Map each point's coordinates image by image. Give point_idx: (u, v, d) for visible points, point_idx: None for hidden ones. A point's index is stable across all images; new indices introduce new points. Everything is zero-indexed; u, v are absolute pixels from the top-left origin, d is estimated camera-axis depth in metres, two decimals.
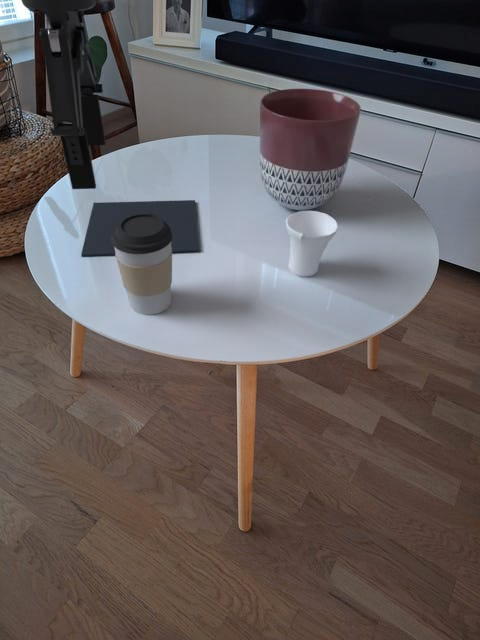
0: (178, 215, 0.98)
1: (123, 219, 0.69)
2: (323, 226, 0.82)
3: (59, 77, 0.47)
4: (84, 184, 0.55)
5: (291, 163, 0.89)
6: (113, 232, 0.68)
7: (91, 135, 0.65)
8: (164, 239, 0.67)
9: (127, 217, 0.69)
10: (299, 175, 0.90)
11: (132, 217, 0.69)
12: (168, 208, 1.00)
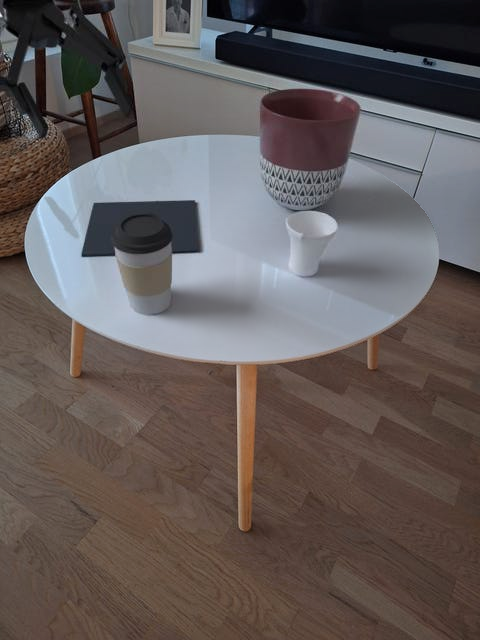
0: (178, 215, 0.98)
1: (123, 219, 0.69)
2: (323, 226, 0.82)
3: None
4: None
5: (291, 163, 0.89)
6: (113, 232, 0.68)
7: None
8: (164, 239, 0.67)
9: (127, 217, 0.69)
10: (299, 175, 0.90)
11: (132, 217, 0.69)
12: (168, 208, 1.00)
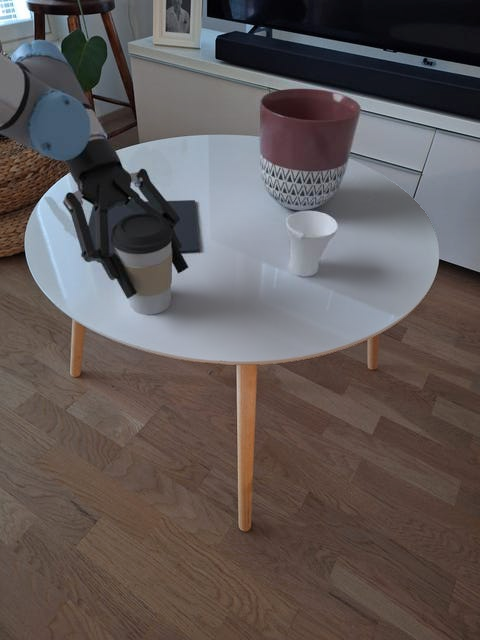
0: (178, 215, 0.98)
1: (123, 219, 0.69)
2: (323, 226, 0.82)
3: None
4: None
5: (291, 163, 0.89)
6: (113, 232, 0.68)
7: None
8: (164, 239, 0.67)
9: (127, 217, 0.69)
10: (299, 175, 0.90)
11: (132, 217, 0.69)
12: None
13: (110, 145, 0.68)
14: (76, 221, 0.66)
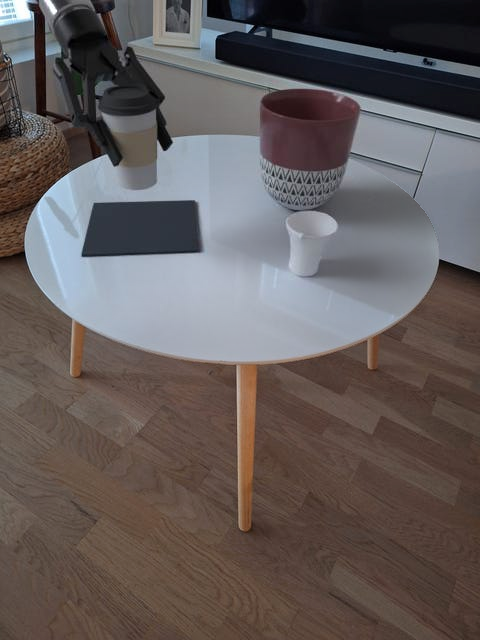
0: (178, 215, 0.98)
1: (110, 88, 0.72)
2: (323, 226, 0.82)
3: None
4: None
5: (291, 163, 0.89)
6: (100, 99, 0.71)
7: None
8: (148, 104, 0.70)
9: (114, 87, 0.72)
10: (299, 175, 0.90)
11: (118, 88, 0.73)
12: (168, 208, 1.00)
13: (98, 17, 0.72)
14: (64, 86, 0.70)
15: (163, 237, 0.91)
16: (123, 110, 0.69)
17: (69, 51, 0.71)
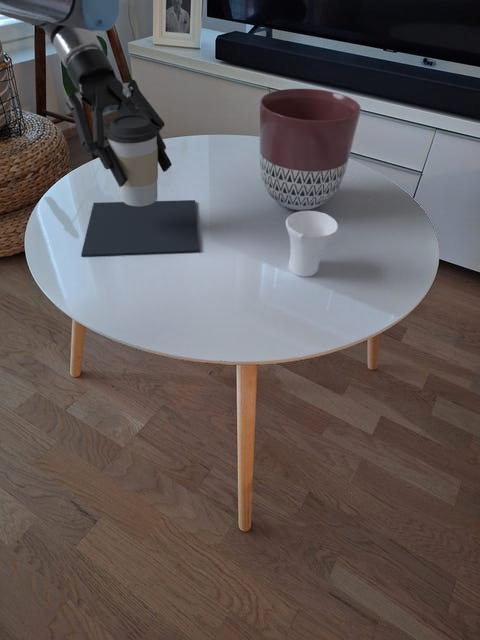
0: (178, 215, 0.98)
1: (116, 118, 0.82)
2: (323, 226, 0.82)
3: None
4: None
5: (291, 163, 0.89)
6: (107, 127, 0.81)
7: None
8: (150, 132, 0.80)
9: (119, 117, 0.82)
10: (299, 175, 0.90)
11: (123, 117, 0.82)
12: (168, 208, 1.00)
13: (105, 55, 0.82)
14: (76, 116, 0.80)
15: (163, 237, 0.91)
16: (128, 138, 0.78)
17: (80, 86, 0.80)
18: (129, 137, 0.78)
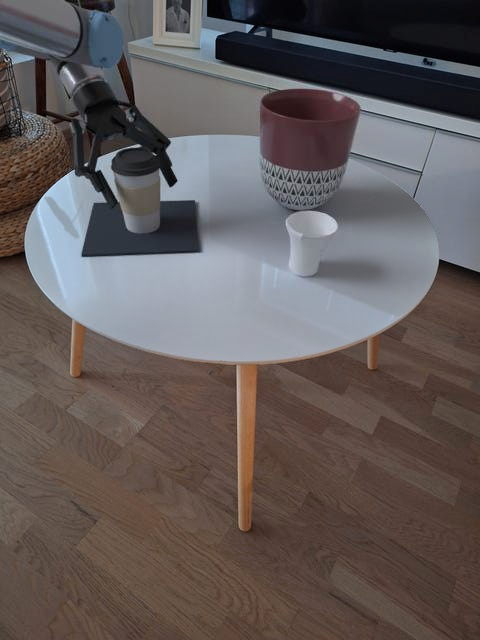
0: (178, 215, 0.98)
1: (120, 151, 0.86)
2: (323, 226, 0.82)
3: None
4: None
5: (291, 163, 0.89)
6: (112, 161, 0.85)
7: None
8: (153, 165, 0.84)
9: (124, 150, 0.86)
10: (299, 175, 0.90)
11: (128, 150, 0.86)
12: (168, 208, 1.00)
13: (109, 87, 0.85)
14: (75, 142, 0.82)
15: (163, 237, 0.91)
16: (132, 172, 0.82)
17: (85, 116, 0.84)
18: (133, 171, 0.82)
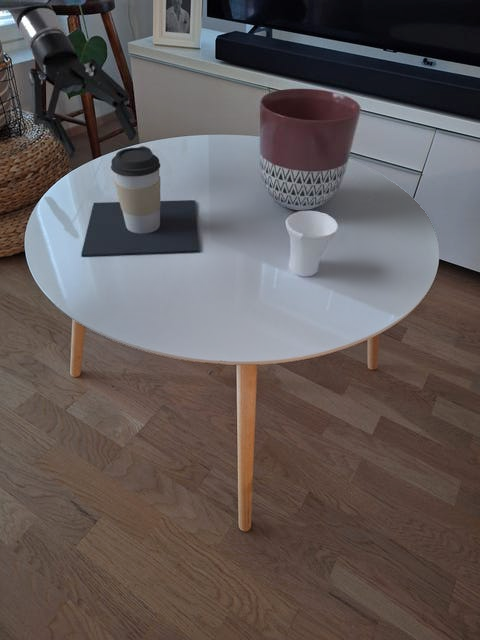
0: (178, 215, 0.98)
1: (120, 151, 0.86)
2: (323, 226, 0.82)
3: None
4: None
5: (291, 163, 0.89)
6: (112, 161, 0.85)
7: None
8: (153, 165, 0.84)
9: (124, 150, 0.86)
10: (299, 175, 0.90)
11: (128, 150, 0.86)
12: (168, 208, 1.00)
13: (68, 39, 0.88)
14: (33, 91, 0.85)
15: (163, 237, 0.91)
16: (132, 172, 0.82)
17: (44, 67, 0.87)
18: (133, 171, 0.82)
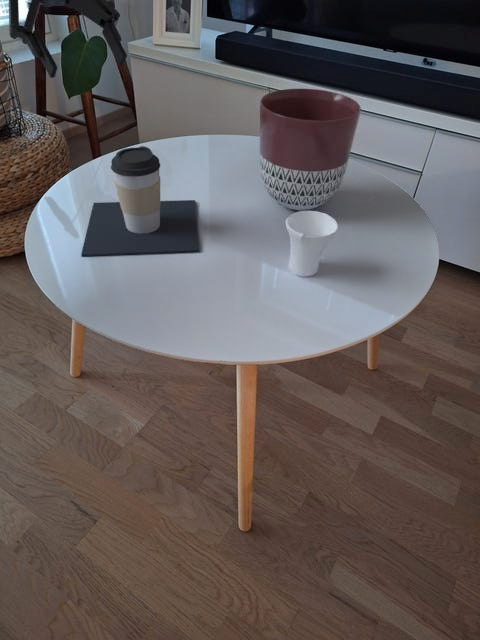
0: (178, 215, 0.98)
1: (120, 151, 0.86)
2: (323, 226, 0.82)
3: None
4: None
5: (291, 163, 0.89)
6: (112, 161, 0.85)
7: None
8: (153, 165, 0.84)
9: (124, 150, 0.86)
10: (299, 175, 0.90)
11: (128, 150, 0.86)
12: (168, 208, 1.00)
13: None
14: None
15: (163, 237, 0.91)
16: (132, 172, 0.82)
17: None
18: (133, 171, 0.82)
